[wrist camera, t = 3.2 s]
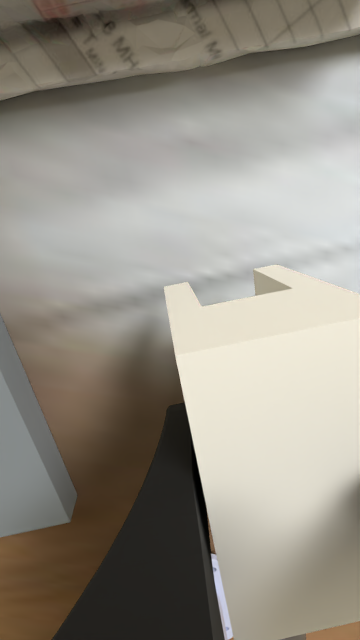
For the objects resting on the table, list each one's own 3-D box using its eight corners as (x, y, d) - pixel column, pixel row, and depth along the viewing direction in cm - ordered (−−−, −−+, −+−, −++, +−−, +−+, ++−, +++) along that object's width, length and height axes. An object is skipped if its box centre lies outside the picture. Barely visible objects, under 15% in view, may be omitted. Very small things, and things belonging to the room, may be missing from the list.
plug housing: (291, 521, 14) (365, 680, 9) (214, 538, 14) (248, 708, 9) (276, 264, 9) (403, 308, 5) (163, 286, 9) (175, 356, 5)
